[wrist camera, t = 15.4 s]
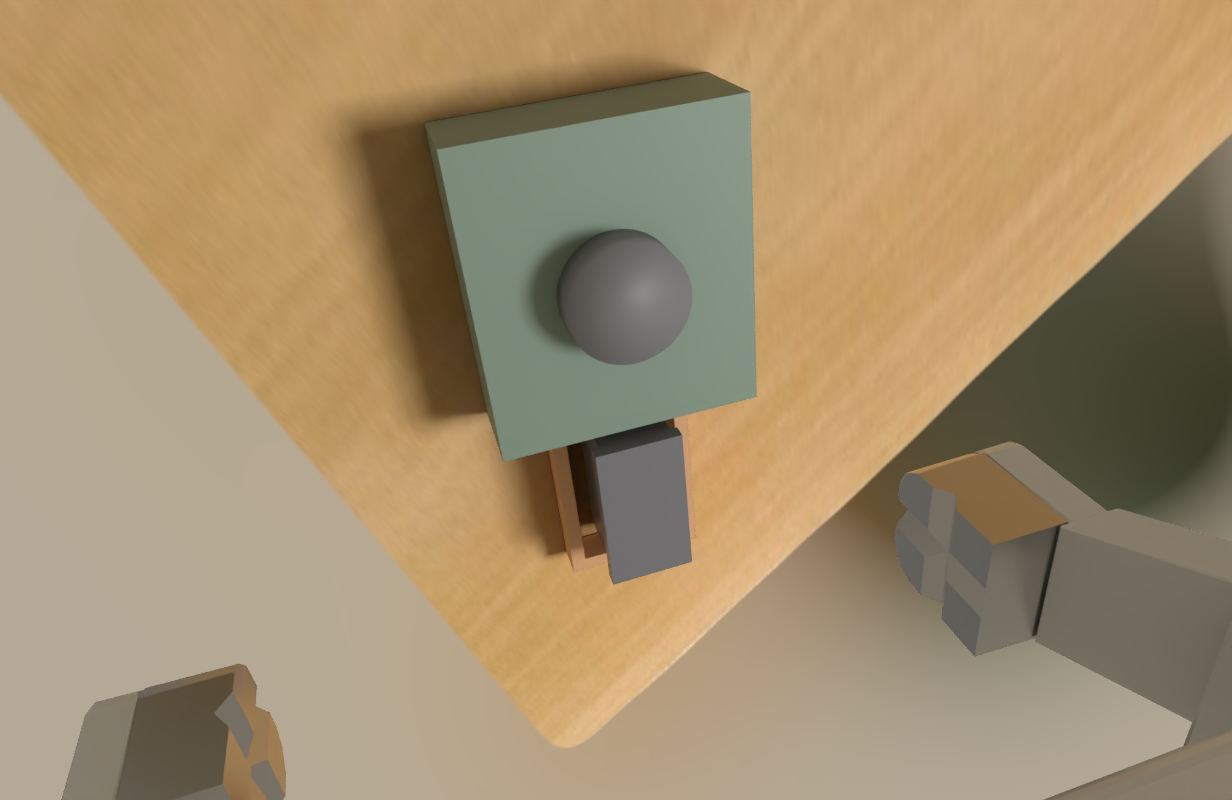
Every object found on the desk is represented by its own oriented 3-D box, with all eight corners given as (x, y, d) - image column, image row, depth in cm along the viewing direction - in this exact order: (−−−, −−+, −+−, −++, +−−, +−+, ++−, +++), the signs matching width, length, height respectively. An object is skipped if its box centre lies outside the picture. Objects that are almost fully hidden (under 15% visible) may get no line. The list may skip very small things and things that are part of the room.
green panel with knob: (708, 72, 43) (770, 100, 37) (727, 506, 57) (774, 575, 51) (423, 122, 40) (442, 162, 34) (520, 564, 54) (544, 645, 49)
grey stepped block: (647, 383, 51) (682, 435, 46) (659, 503, 56) (691, 561, 51) (568, 403, 50) (595, 457, 45) (587, 523, 55) (613, 584, 50)
